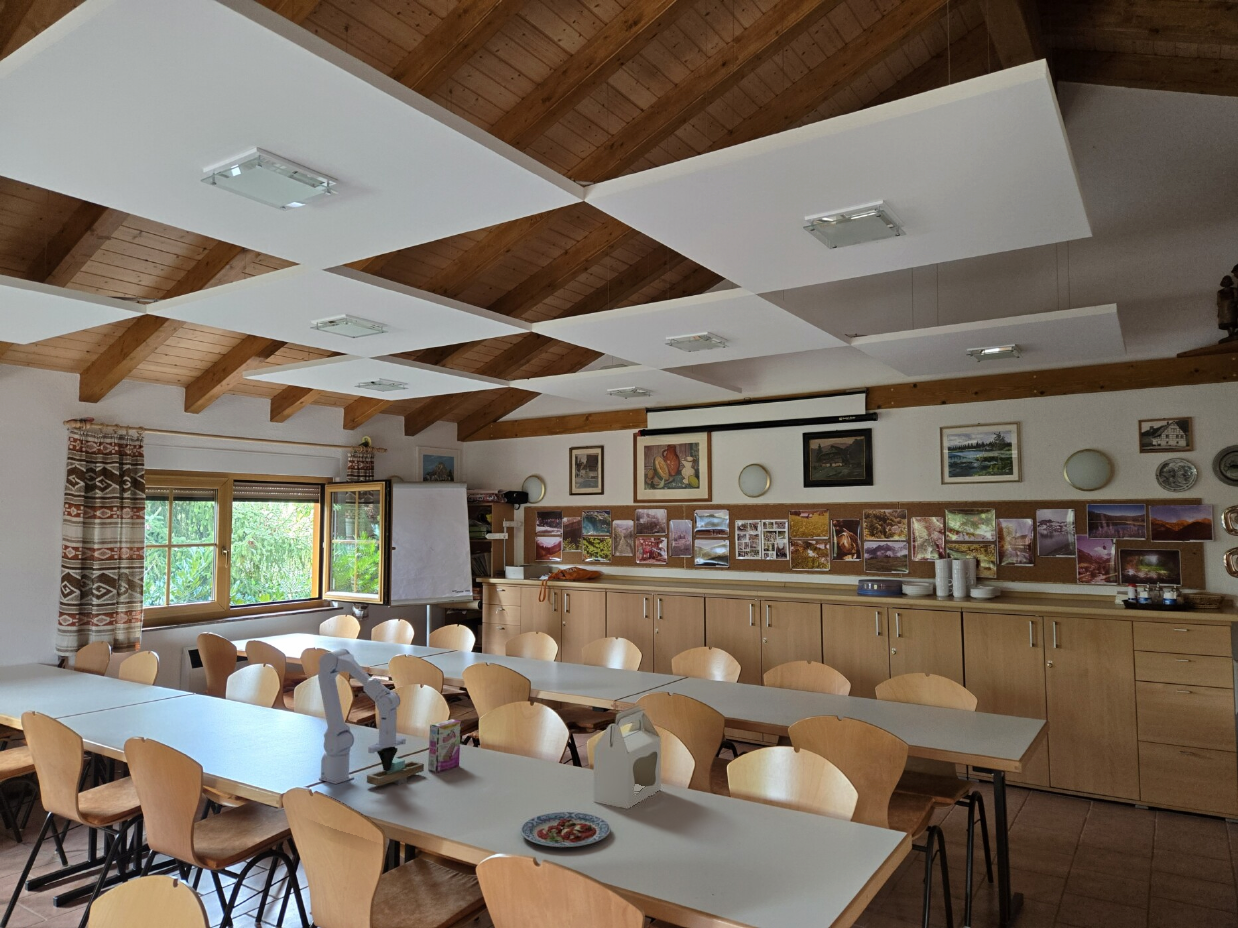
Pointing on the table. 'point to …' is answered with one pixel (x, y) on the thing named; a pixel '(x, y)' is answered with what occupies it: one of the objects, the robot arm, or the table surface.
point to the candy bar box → (444, 745)
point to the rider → (396, 765)
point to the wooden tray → (395, 774)
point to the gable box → (627, 761)
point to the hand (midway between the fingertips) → (386, 769)
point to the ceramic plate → (565, 829)
